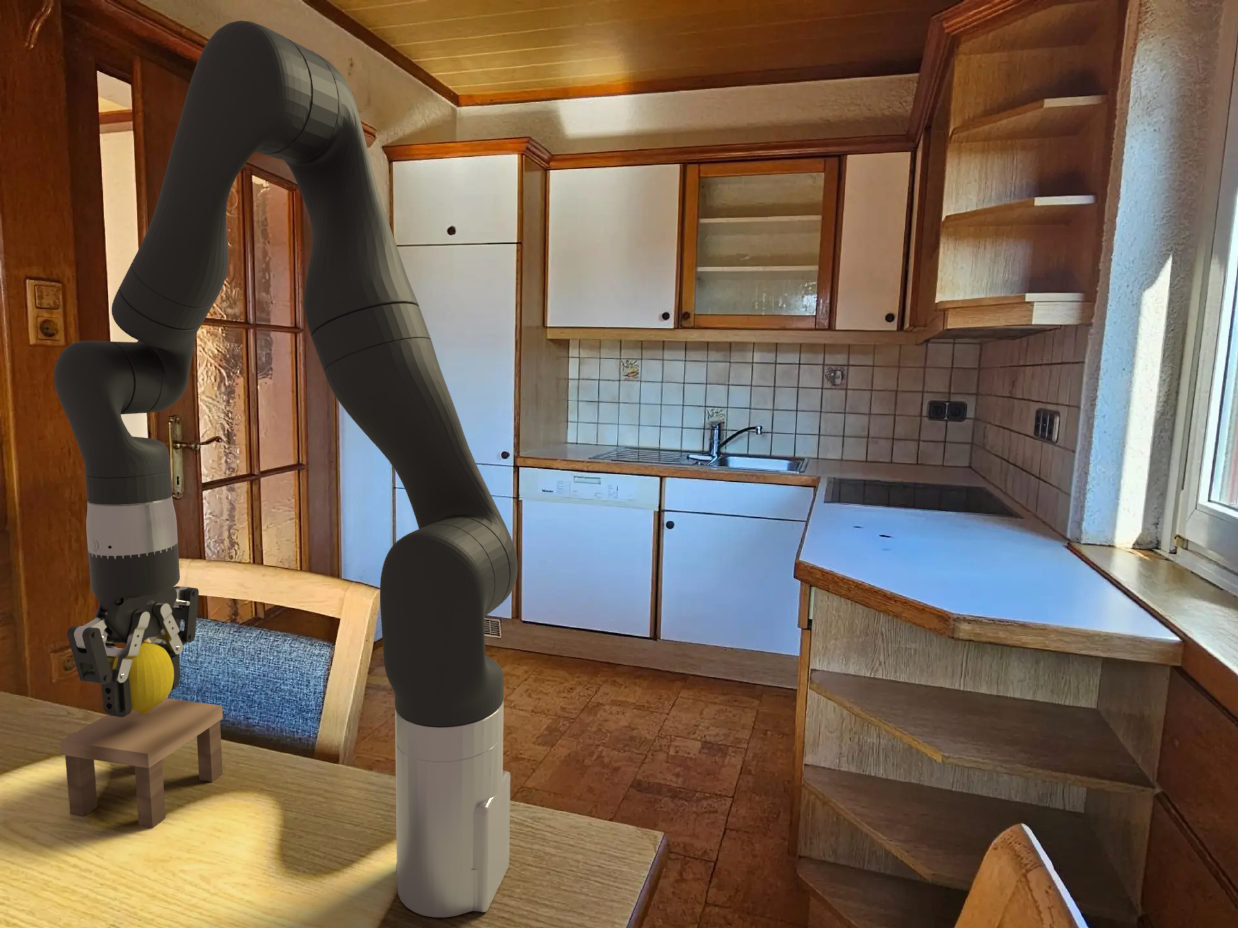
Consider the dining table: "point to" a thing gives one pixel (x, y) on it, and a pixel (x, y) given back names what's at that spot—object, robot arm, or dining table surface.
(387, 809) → the dining table surface
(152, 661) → the lemon
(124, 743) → the stool
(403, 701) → the robot arm
